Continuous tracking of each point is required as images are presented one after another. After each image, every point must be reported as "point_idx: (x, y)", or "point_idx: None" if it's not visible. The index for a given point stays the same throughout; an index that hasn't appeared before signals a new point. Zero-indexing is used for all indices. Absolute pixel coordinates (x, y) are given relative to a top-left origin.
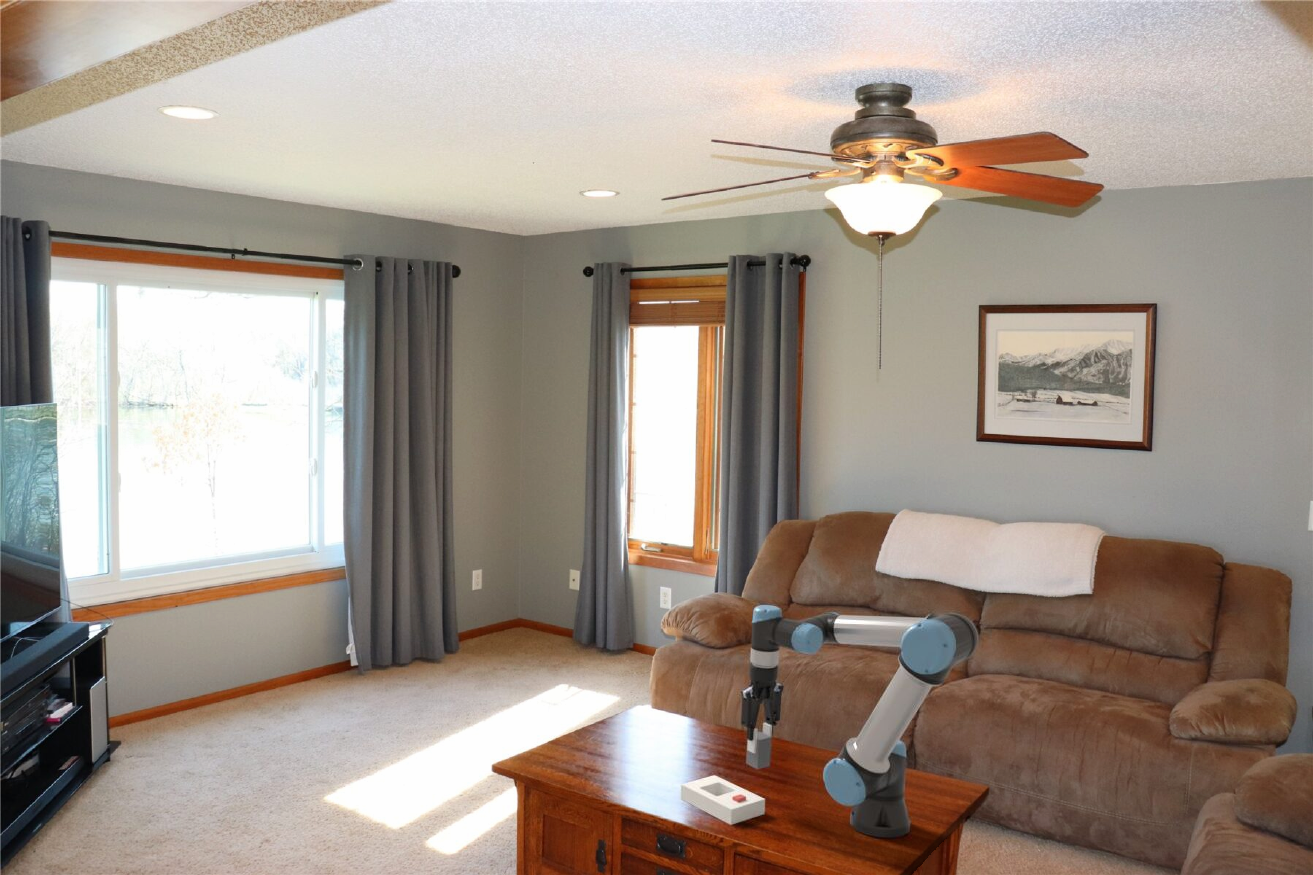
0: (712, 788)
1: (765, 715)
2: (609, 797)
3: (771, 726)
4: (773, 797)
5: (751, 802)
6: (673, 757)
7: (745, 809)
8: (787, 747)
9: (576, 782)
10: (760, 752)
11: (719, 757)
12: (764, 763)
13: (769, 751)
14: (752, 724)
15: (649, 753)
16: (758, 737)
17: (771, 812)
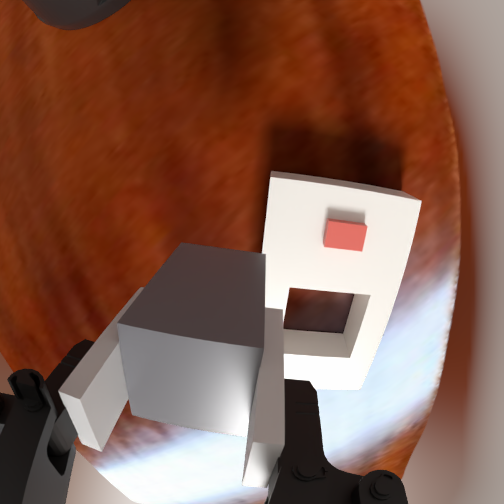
0: (299, 346)
1: (64, 490)
2: (418, 419)
3: (67, 387)
4: (156, 234)
5: (332, 189)
6: (198, 456)
7: (360, 187)
8: (10, 356)
9: (392, 461)
10: (243, 290)
11: (125, 417)
12: (214, 254)
13: (166, 273)
14: (324, 497)
15: (220, 475)
16: (217, 378)
17: (241, 166)
